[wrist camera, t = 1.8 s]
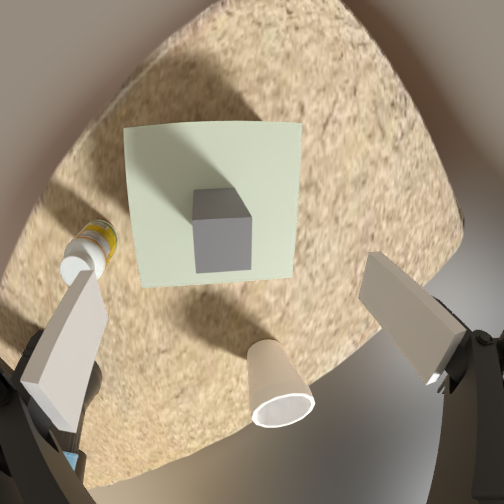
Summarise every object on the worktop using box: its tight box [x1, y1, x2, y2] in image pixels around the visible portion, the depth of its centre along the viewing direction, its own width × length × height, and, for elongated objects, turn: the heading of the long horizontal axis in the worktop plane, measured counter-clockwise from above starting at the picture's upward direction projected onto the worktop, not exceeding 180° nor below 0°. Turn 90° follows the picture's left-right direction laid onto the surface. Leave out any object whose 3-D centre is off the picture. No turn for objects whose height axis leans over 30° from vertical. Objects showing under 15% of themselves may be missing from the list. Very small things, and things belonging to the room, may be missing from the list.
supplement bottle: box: [60, 220, 118, 286], centre depth 29 cm, size 5×5×10 cm
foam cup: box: [247, 339, 315, 427], centre depth 42 cm, size 10×9×13 cm
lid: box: [123, 121, 302, 288], centre depth 21 cm, size 15×15×10 cm
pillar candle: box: [74, 450, 86, 484], centre depth 50 cm, size 10×10×15 cm
